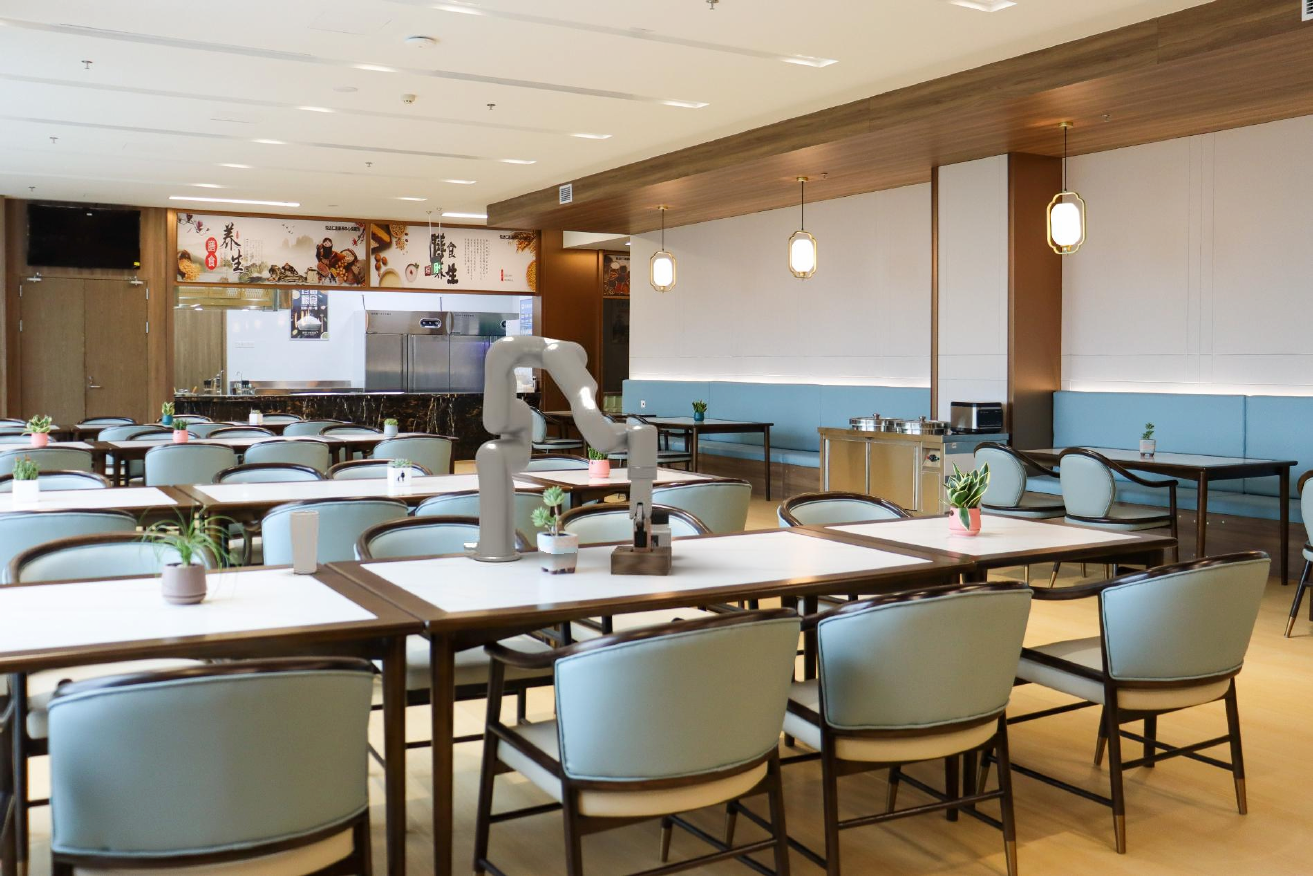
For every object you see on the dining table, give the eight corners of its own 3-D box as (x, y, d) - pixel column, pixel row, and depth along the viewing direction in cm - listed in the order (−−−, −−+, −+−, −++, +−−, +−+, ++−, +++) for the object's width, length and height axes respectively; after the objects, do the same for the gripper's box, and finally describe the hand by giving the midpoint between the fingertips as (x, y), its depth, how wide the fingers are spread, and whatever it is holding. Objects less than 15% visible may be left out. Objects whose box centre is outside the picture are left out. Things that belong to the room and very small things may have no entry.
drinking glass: (311, 575, 282) (310, 514, 281) (285, 574, 283) (284, 513, 282) (324, 571, 288) (323, 511, 288) (299, 569, 290) (298, 510, 289)
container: (670, 560, 307) (671, 511, 306) (641, 560, 307) (641, 511, 307) (671, 556, 315) (671, 508, 314) (642, 555, 315) (642, 508, 314)
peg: (632, 567, 290) (632, 519, 290) (634, 564, 295) (634, 517, 294) (649, 567, 290) (650, 520, 289) (651, 564, 294) (651, 517, 294)
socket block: (610, 574, 286) (610, 554, 286) (617, 564, 300) (617, 545, 300) (667, 575, 285) (667, 555, 285) (671, 566, 299) (671, 546, 299)
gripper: (631, 470, 300) (630, 540, 301) (623, 476, 283) (622, 550, 284) (660, 471, 299) (659, 541, 300) (654, 477, 282) (653, 551, 283)
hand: (641, 545), depth 292 cm, fingers open, 4 cm apart
